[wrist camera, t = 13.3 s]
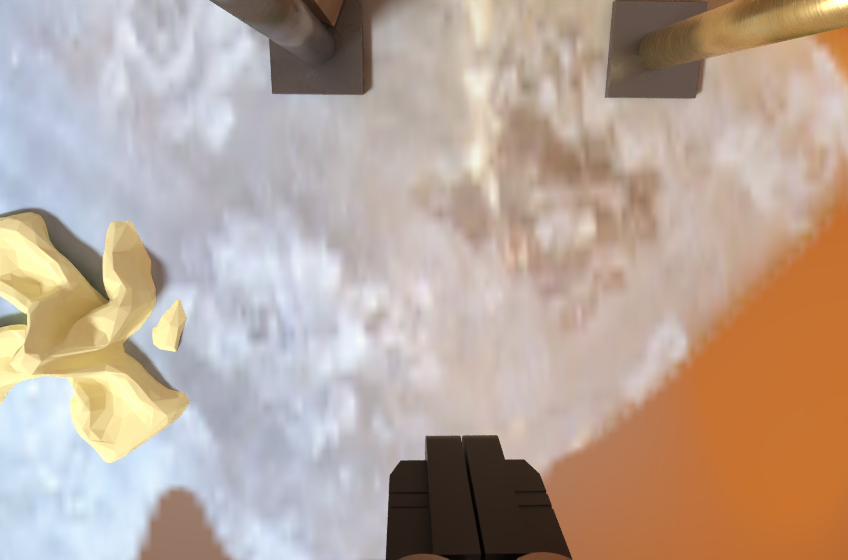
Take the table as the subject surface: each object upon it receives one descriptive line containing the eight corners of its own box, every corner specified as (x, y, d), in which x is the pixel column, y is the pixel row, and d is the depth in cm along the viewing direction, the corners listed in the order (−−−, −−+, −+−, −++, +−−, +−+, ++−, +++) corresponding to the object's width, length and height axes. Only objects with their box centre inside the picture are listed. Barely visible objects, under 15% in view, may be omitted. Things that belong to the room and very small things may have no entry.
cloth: (174, 476, 47) (141, 526, 42) (-64, 408, 45) (-135, 451, 39) (248, 217, 42) (222, 232, 36) (-18, 127, 40) (-91, 127, 34)
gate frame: (274, 94, 40) (148, 63, 20) (269, -4, 38) (127, -136, 19) (691, 98, 40) (951, 73, 21) (702, 3, 39) (994, -117, 20)
